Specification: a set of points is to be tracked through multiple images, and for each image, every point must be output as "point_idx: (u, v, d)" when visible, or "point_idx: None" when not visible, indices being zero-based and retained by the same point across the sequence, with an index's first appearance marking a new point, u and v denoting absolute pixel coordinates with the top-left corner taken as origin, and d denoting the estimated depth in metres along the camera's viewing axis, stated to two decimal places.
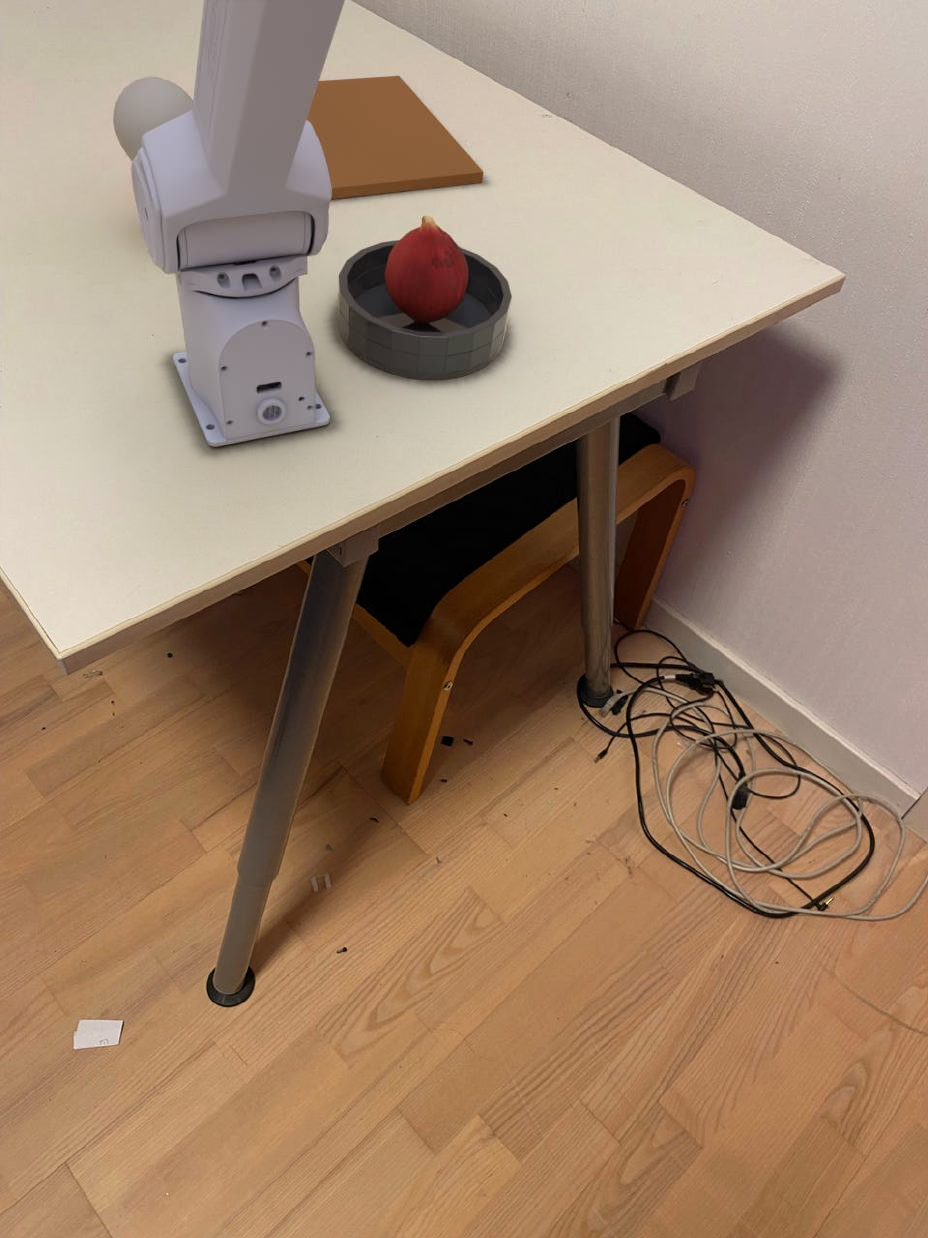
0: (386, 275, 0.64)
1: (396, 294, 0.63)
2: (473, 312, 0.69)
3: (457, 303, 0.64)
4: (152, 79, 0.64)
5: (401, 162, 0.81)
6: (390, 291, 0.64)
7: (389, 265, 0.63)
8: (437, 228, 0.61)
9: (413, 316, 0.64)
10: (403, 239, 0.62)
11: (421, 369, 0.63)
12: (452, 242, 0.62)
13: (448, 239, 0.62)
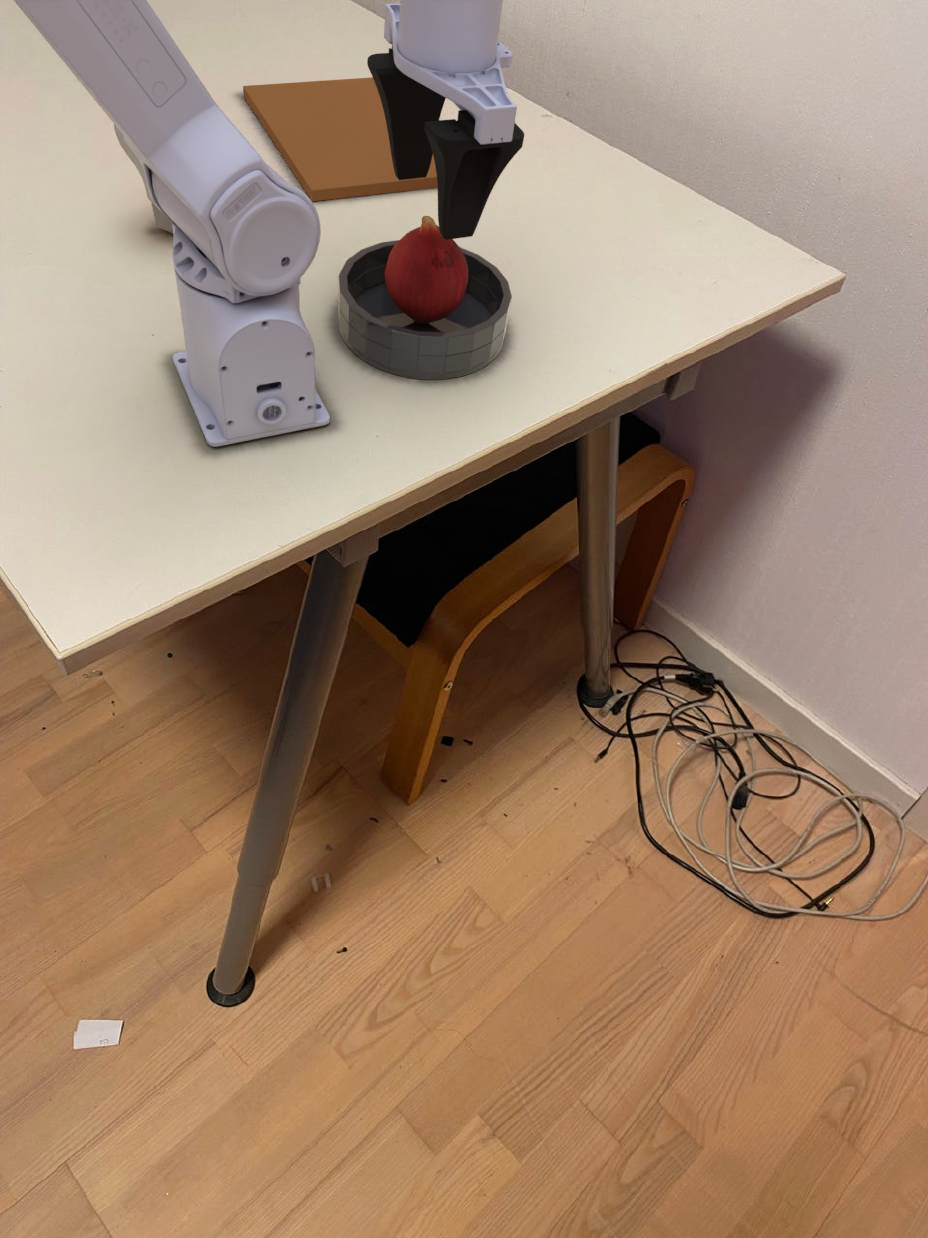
0: (386, 275, 0.64)
1: (396, 294, 0.63)
2: (473, 312, 0.69)
3: (457, 303, 0.64)
4: None
5: None
6: (390, 291, 0.64)
7: (389, 265, 0.63)
8: (437, 228, 0.61)
9: (413, 316, 0.64)
10: (403, 239, 0.62)
11: (421, 369, 0.63)
12: (452, 242, 0.62)
13: None
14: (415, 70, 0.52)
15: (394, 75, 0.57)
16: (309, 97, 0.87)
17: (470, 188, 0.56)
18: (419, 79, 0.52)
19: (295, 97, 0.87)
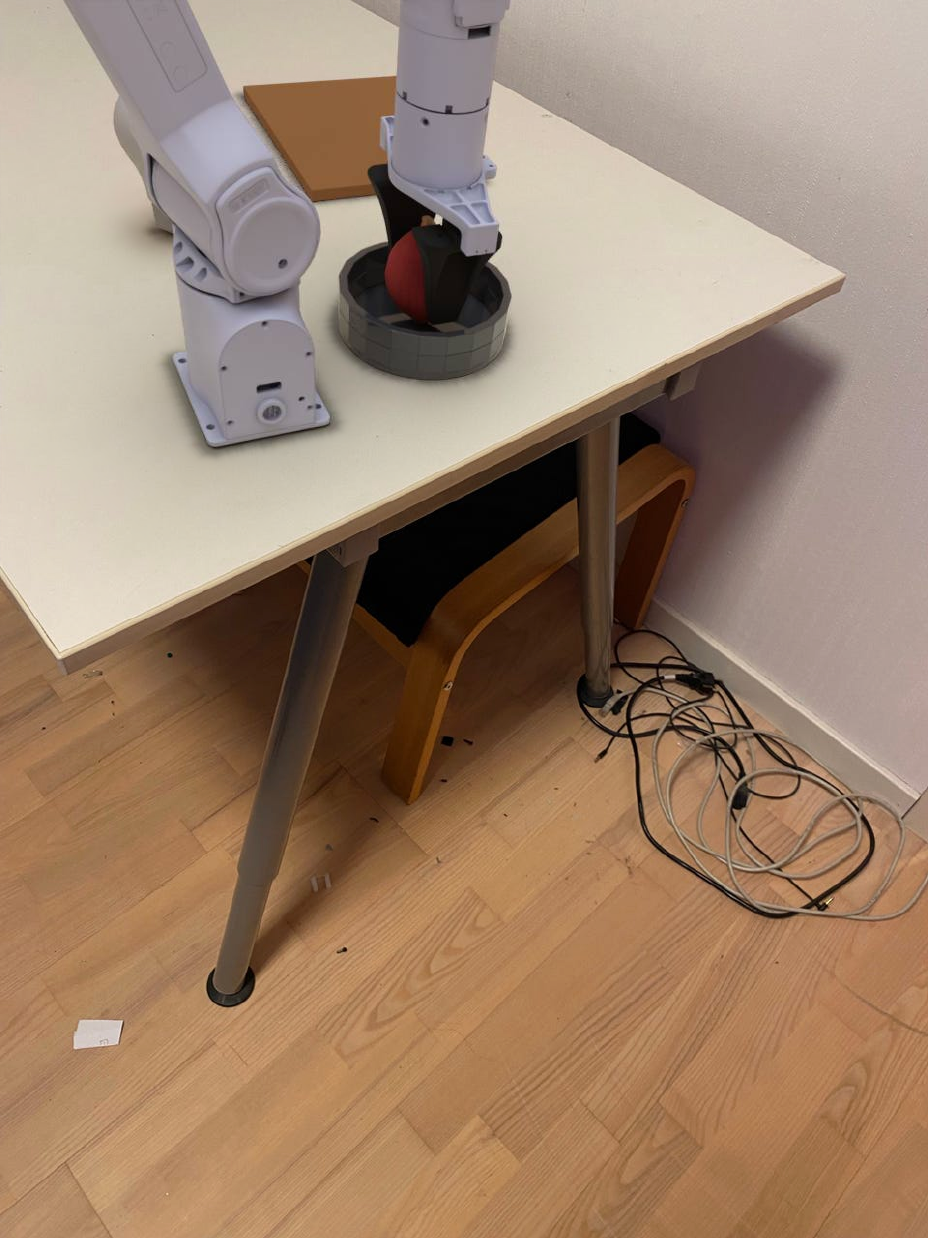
0: (386, 275, 0.64)
1: (396, 294, 0.63)
2: (473, 312, 0.69)
3: None
4: None
5: None
6: (389, 291, 0.64)
7: (389, 265, 0.63)
8: None
9: (413, 316, 0.64)
10: (403, 238, 0.62)
11: (421, 369, 0.63)
12: None
13: None
14: (407, 187, 0.57)
15: (392, 186, 0.62)
16: (309, 97, 0.87)
17: (454, 281, 0.61)
18: (411, 195, 0.57)
19: (295, 97, 0.87)
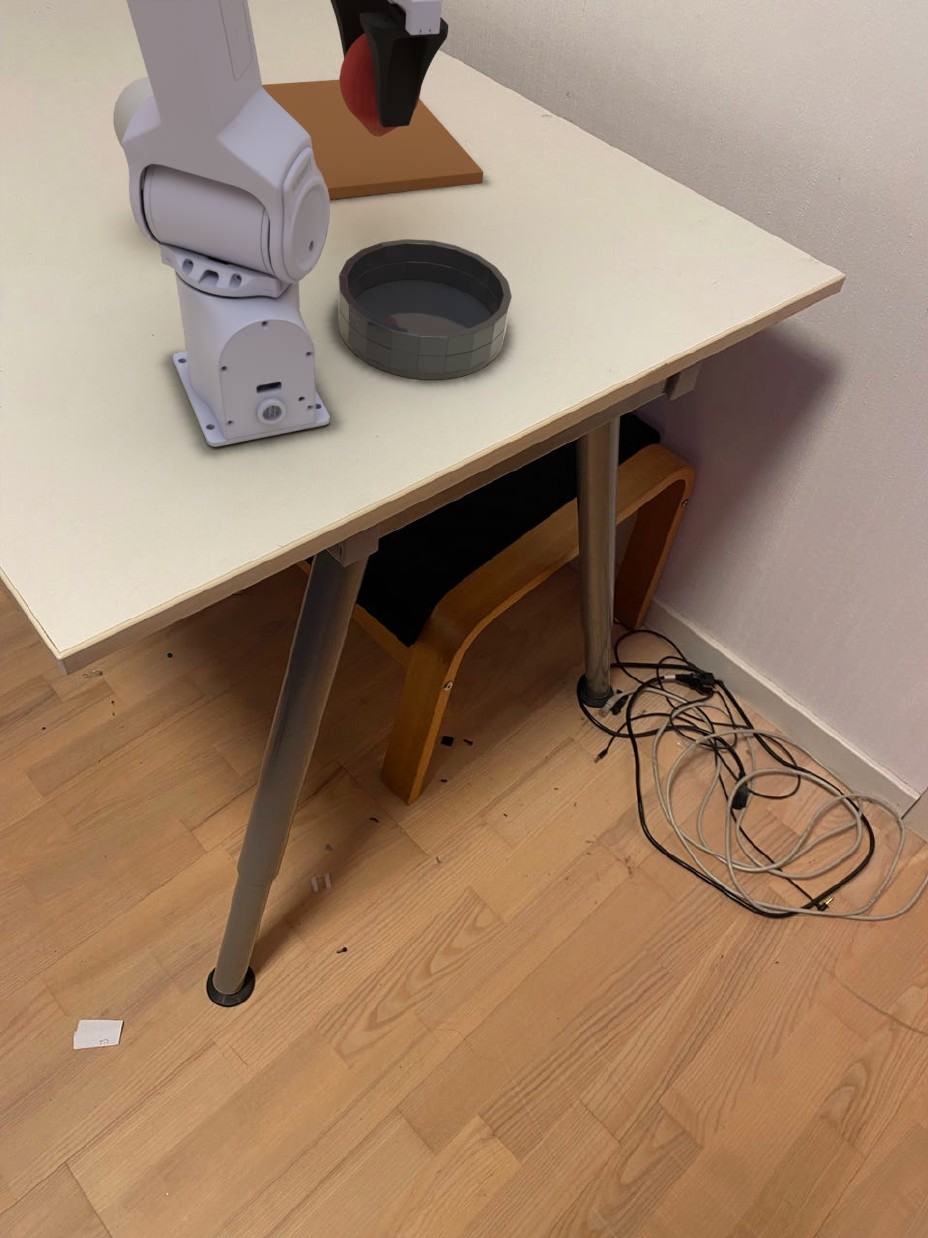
0: (340, 79, 0.65)
1: (349, 96, 0.65)
2: (473, 312, 0.69)
3: None
4: None
5: (401, 162, 0.81)
6: (344, 95, 0.66)
7: (343, 67, 0.65)
8: None
9: (367, 121, 0.66)
10: (356, 40, 0.64)
11: (421, 369, 0.63)
12: None
13: None
14: None
15: None
16: (309, 97, 0.87)
17: (404, 78, 0.63)
18: None
19: (295, 97, 0.87)
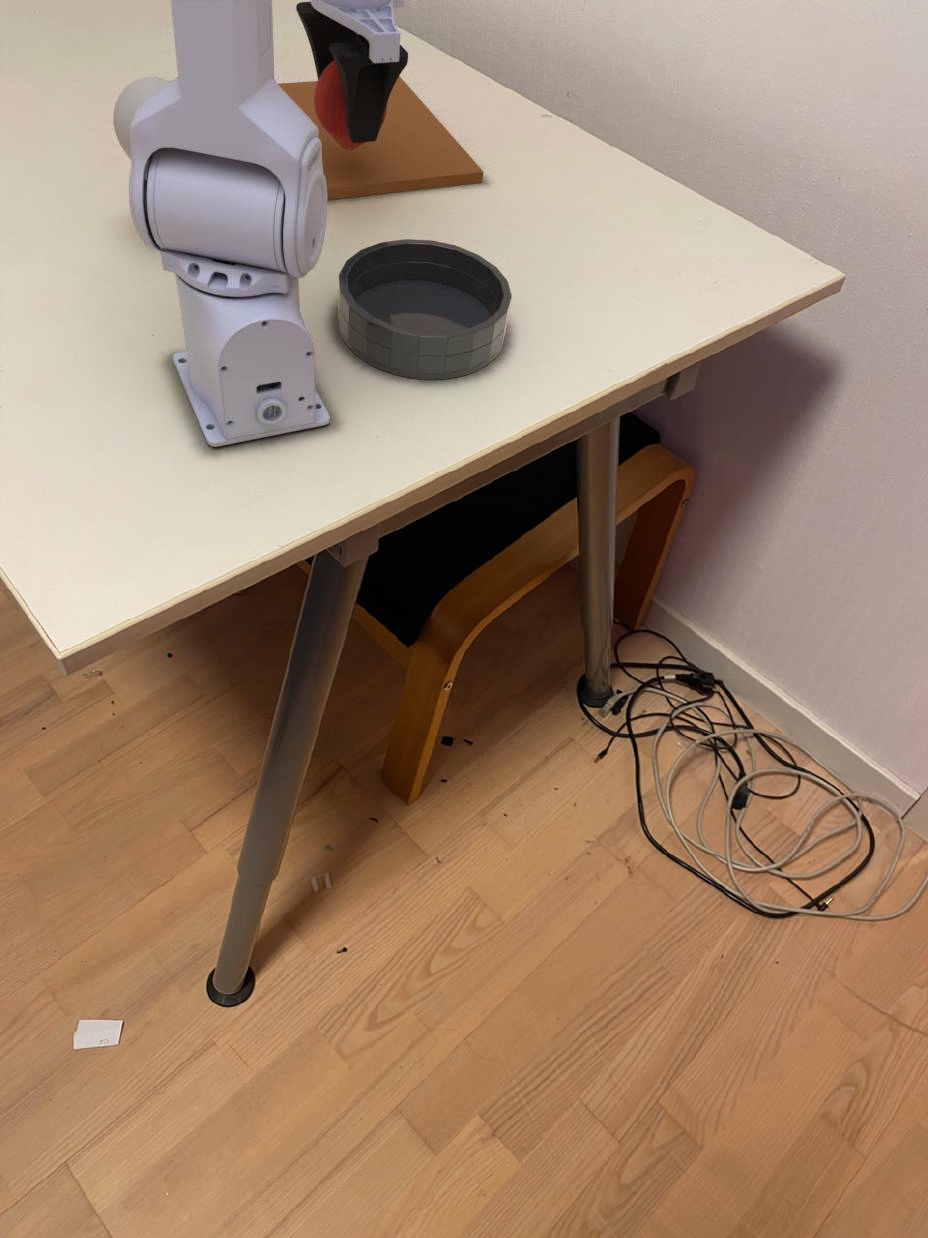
0: (315, 99, 0.73)
1: (323, 115, 0.73)
2: (473, 312, 0.69)
3: None
4: (152, 79, 0.64)
5: (401, 162, 0.81)
6: (318, 114, 0.74)
7: (317, 89, 0.73)
8: None
9: (339, 137, 0.74)
10: (328, 65, 0.72)
11: (421, 369, 0.63)
12: None
13: None
14: (325, 7, 0.67)
15: (317, 18, 0.71)
16: (309, 97, 0.87)
17: (370, 99, 0.71)
18: (328, 14, 0.67)
19: (295, 97, 0.87)
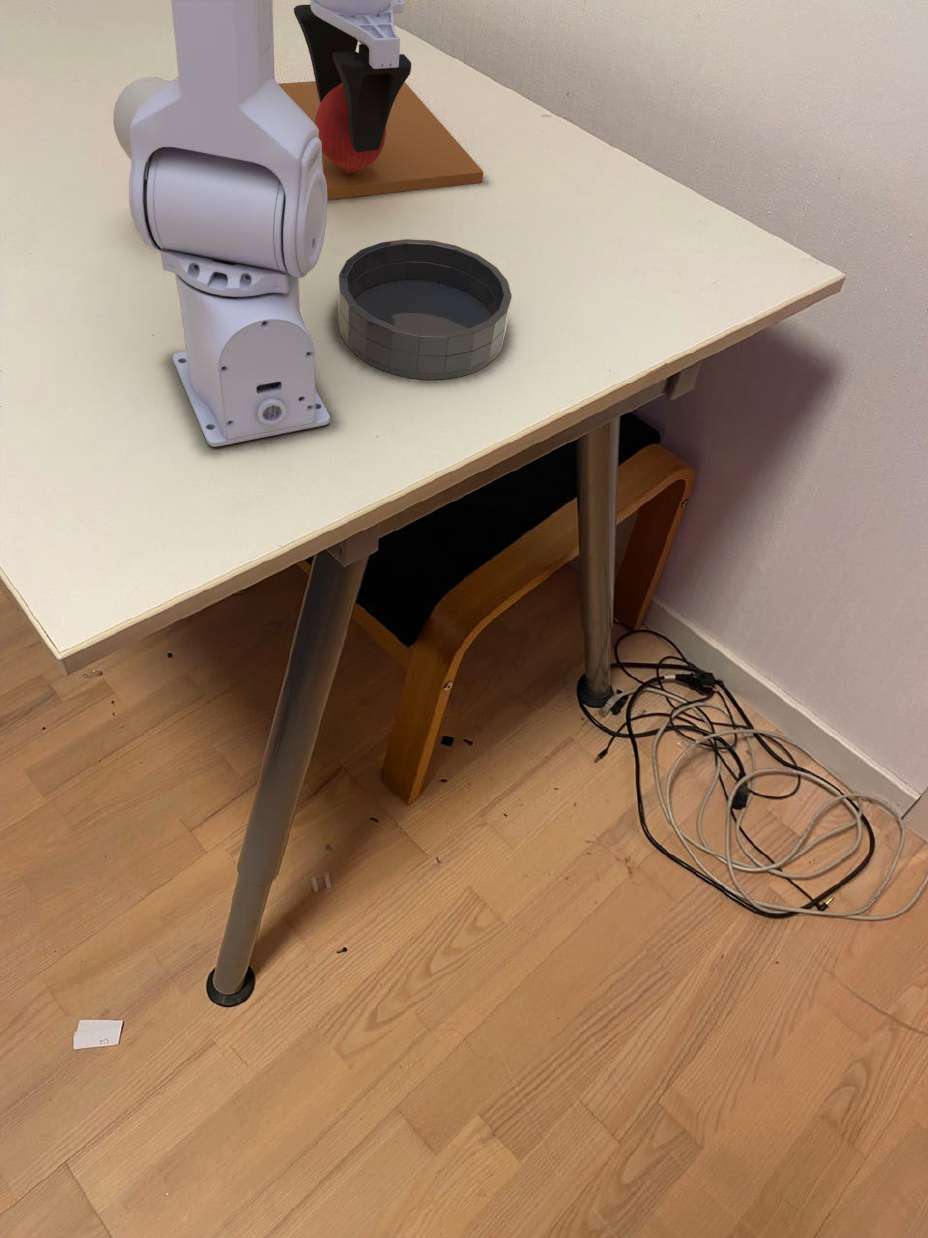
0: None
1: (323, 141, 0.75)
2: (473, 312, 0.69)
3: (376, 151, 0.76)
4: (152, 79, 0.64)
5: (401, 162, 0.81)
6: None
7: (317, 116, 0.74)
8: None
9: (339, 163, 0.76)
10: (328, 93, 0.74)
11: (421, 369, 0.63)
12: None
13: None
14: (325, 12, 0.67)
15: (315, 21, 0.72)
16: (309, 97, 0.87)
17: (373, 108, 0.71)
18: (328, 20, 0.67)
19: (295, 97, 0.87)
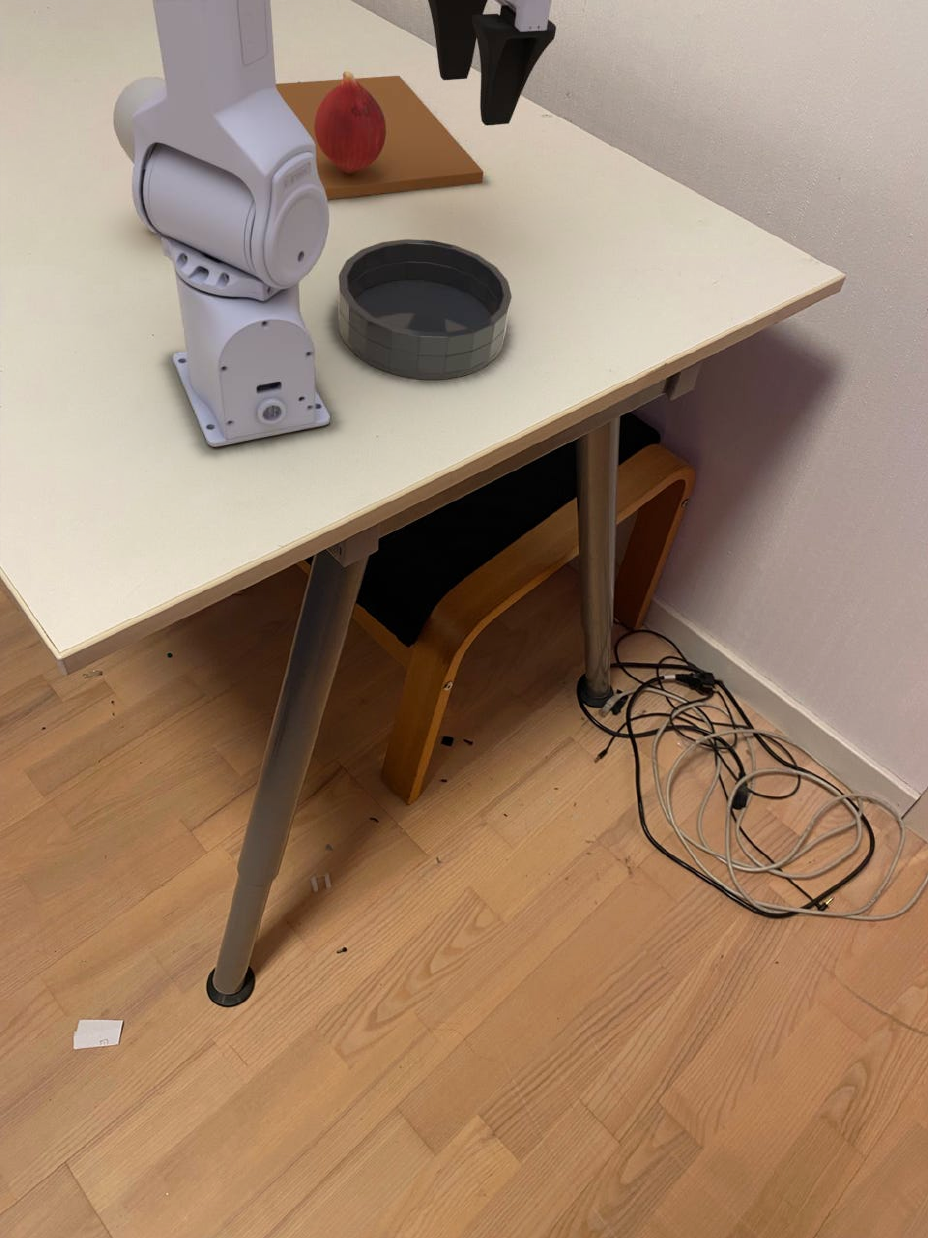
0: (315, 126, 0.75)
1: (323, 142, 0.75)
2: (473, 312, 0.69)
3: (376, 151, 0.76)
4: (152, 79, 0.64)
5: (401, 162, 0.81)
6: (318, 140, 0.75)
7: (317, 116, 0.74)
8: (356, 82, 0.73)
9: (339, 163, 0.76)
10: (328, 93, 0.74)
11: (421, 369, 0.63)
12: (369, 96, 0.74)
13: (365, 92, 0.73)
14: None
15: None
16: (309, 97, 0.87)
17: (509, 77, 0.65)
18: None
19: (295, 97, 0.87)
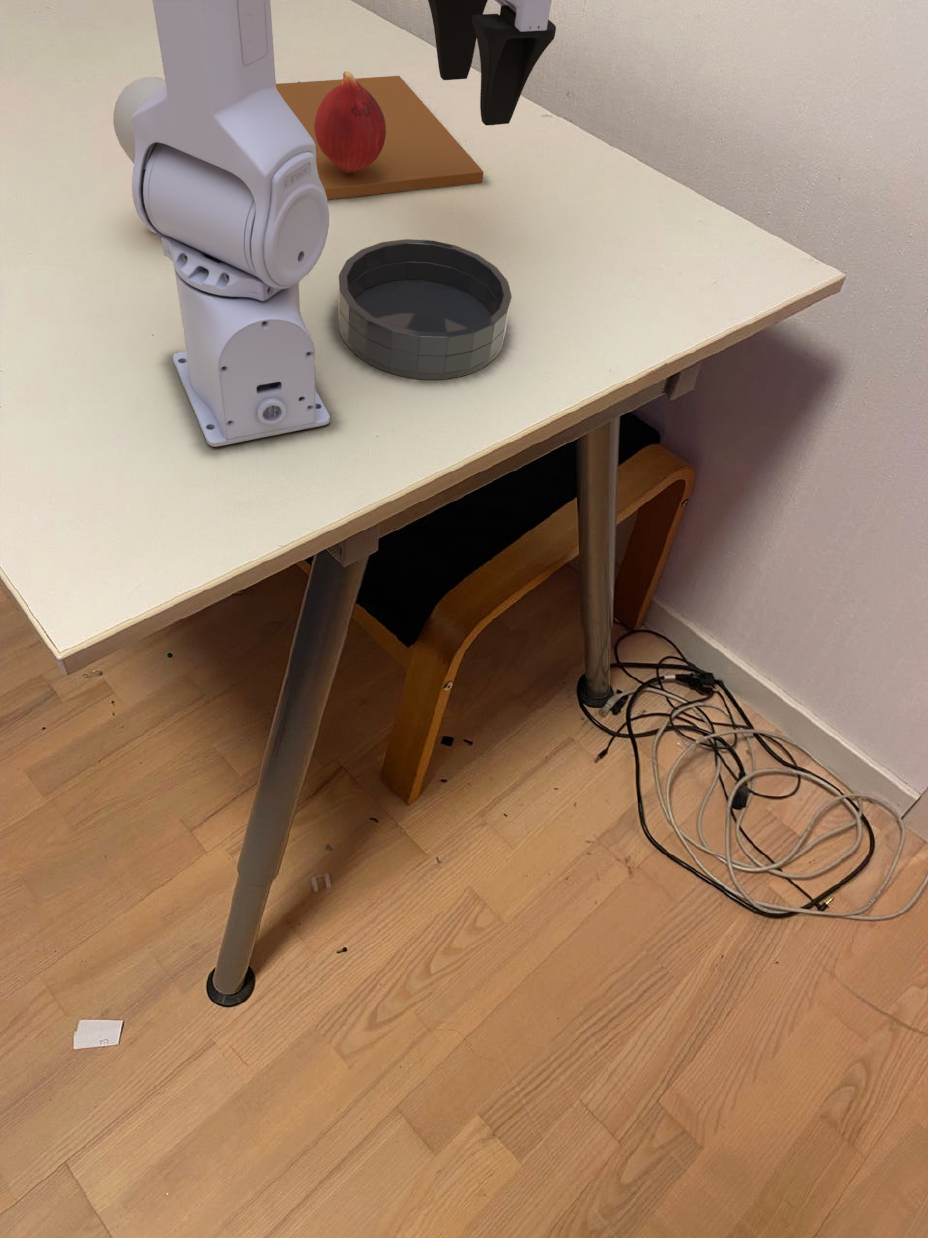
0: (315, 126, 0.75)
1: (323, 142, 0.75)
2: (473, 312, 0.69)
3: (376, 151, 0.76)
4: (152, 79, 0.64)
5: (401, 162, 0.81)
6: (318, 140, 0.75)
7: (317, 116, 0.74)
8: (356, 82, 0.73)
9: (339, 163, 0.76)
10: (328, 93, 0.74)
11: (421, 369, 0.63)
12: (369, 96, 0.74)
13: (365, 92, 0.73)
14: None
15: None
16: (309, 97, 0.87)
17: (509, 77, 0.65)
18: None
19: (295, 97, 0.87)
